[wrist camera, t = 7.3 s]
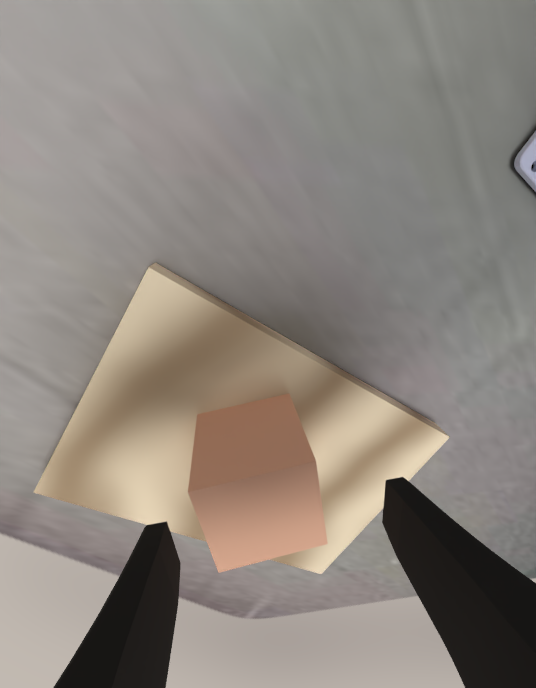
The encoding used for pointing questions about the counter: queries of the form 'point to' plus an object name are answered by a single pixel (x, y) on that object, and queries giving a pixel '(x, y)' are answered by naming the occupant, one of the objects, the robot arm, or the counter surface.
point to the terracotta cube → (255, 483)
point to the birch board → (217, 393)
